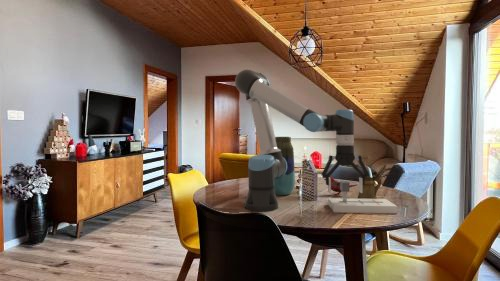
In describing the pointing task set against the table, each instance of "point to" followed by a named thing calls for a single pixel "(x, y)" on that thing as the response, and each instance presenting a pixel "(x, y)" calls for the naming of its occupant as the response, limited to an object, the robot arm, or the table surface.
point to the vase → (288, 179)
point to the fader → (344, 189)
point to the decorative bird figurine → (336, 186)
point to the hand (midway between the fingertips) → (345, 192)
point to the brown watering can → (371, 186)
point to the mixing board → (362, 205)
